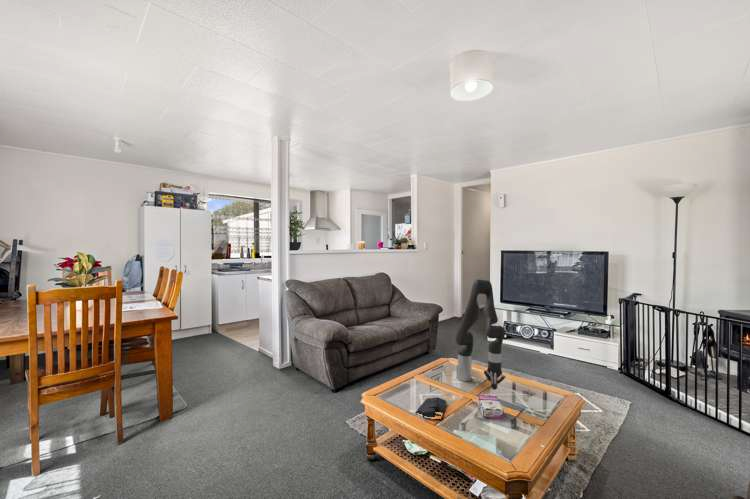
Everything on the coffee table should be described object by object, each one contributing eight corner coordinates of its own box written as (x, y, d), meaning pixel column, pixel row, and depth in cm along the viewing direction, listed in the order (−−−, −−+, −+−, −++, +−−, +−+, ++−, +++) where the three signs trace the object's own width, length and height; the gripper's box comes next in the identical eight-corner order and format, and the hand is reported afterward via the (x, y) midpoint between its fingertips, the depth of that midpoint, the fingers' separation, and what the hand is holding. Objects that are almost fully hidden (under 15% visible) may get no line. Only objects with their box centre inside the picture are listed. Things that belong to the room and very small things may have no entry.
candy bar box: (476, 402, 192) (482, 417, 176) (476, 394, 192) (482, 408, 176) (496, 404, 191) (504, 418, 175) (496, 395, 191) (504, 409, 175)
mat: (485, 410, 184) (485, 409, 184) (498, 399, 197) (498, 398, 197) (512, 420, 174) (512, 419, 174) (524, 408, 187) (524, 407, 187)
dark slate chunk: (450, 404, 192) (450, 396, 192) (440, 423, 172) (440, 414, 172) (425, 399, 198) (425, 391, 198) (413, 416, 179) (413, 407, 179)
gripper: (481, 358, 192) (480, 387, 192) (503, 364, 182) (503, 395, 183) (486, 355, 197) (486, 383, 197) (508, 361, 188) (508, 390, 188)
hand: (494, 389), depth 190 cm, fingers closed
